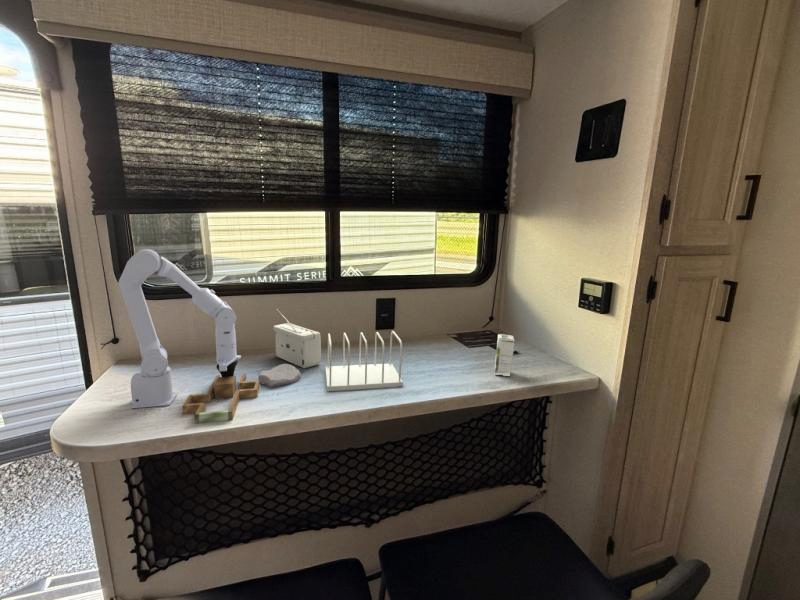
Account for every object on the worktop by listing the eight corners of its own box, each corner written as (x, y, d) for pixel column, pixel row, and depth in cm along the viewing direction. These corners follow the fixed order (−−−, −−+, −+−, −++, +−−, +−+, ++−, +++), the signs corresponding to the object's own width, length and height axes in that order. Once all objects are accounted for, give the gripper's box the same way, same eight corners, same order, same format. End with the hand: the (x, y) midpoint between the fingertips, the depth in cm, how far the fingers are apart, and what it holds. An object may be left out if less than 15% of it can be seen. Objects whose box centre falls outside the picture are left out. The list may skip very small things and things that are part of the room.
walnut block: (215, 398, 110) (214, 384, 109) (219, 390, 115) (218, 377, 114) (233, 397, 111) (232, 383, 110) (236, 389, 117) (235, 375, 116)
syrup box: (494, 370, 140) (497, 333, 137) (510, 371, 138) (513, 335, 136) (494, 375, 134) (497, 337, 131) (511, 377, 133) (514, 339, 130)
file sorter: (327, 392, 117) (326, 345, 114) (325, 371, 134) (324, 330, 131) (403, 386, 123) (404, 342, 120) (392, 367, 139) (393, 328, 136)
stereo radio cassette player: (322, 365, 140) (321, 314, 136) (303, 370, 134) (302, 317, 130) (290, 352, 153) (289, 305, 149) (272, 357, 147) (271, 308, 143)
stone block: (303, 384, 127) (286, 371, 132) (304, 372, 125) (287, 359, 131) (273, 396, 118) (256, 382, 123) (273, 383, 116) (256, 369, 122)
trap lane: (175, 425, 95) (175, 416, 94) (202, 383, 120) (201, 376, 120) (252, 417, 100) (252, 409, 99) (261, 379, 125) (261, 372, 125)
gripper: (236, 350, 109) (238, 392, 112) (243, 336, 123) (245, 374, 125) (210, 351, 107) (213, 394, 110) (220, 337, 121) (222, 376, 123)
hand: (228, 384), depth 117 cm, fingers closed
